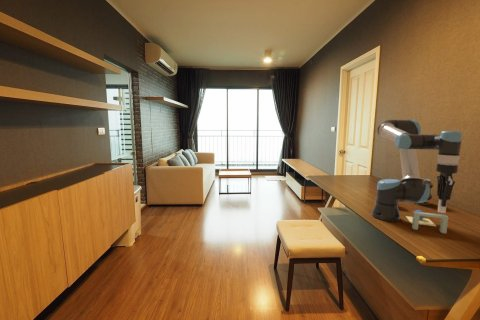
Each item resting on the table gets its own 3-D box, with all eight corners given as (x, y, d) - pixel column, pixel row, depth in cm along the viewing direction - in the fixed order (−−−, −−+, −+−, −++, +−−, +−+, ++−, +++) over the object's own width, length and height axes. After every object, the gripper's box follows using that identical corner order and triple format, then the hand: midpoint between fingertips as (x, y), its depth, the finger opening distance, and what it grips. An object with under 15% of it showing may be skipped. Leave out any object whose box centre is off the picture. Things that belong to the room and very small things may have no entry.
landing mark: (411, 223, 140) (411, 223, 140) (405, 216, 152) (405, 216, 152) (436, 226, 136) (436, 226, 136) (428, 219, 147) (428, 218, 147)
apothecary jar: (428, 202, 182) (431, 178, 180) (433, 206, 171) (436, 181, 169) (409, 200, 187) (411, 177, 185) (412, 204, 176) (415, 180, 174)
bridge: (446, 233, 127) (448, 216, 126) (413, 229, 132) (415, 213, 131) (444, 231, 130) (446, 214, 129) (411, 227, 135) (413, 211, 134)
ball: (413, 220, 148) (415, 215, 144) (411, 213, 152) (413, 207, 148) (423, 221, 146) (426, 216, 142) (422, 214, 150) (424, 208, 146)
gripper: (464, 166, 107) (457, 218, 110) (451, 162, 119) (445, 209, 122) (443, 165, 109) (437, 215, 112) (432, 161, 121) (427, 207, 124)
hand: (441, 212), depth 117 cm, fingers closed
